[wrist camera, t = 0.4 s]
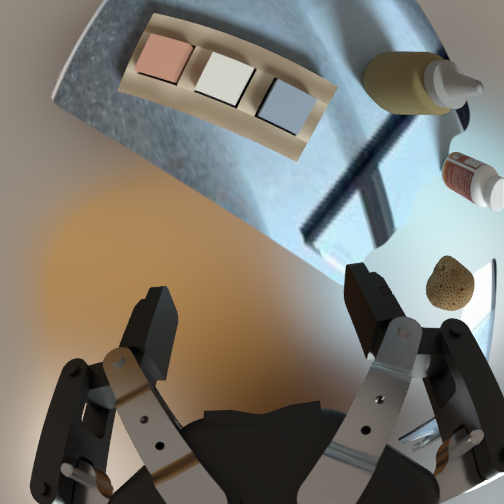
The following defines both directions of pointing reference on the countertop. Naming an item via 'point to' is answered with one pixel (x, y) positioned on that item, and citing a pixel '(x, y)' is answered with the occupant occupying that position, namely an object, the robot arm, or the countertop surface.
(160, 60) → the terracotta key
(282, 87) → the slate key
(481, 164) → the pill bottle
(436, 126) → the countertop surface
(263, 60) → the key box
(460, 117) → the countertop surface
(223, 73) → the white key
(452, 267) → the natural sponge
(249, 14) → the countertop surface
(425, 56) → the squeeze bottle
